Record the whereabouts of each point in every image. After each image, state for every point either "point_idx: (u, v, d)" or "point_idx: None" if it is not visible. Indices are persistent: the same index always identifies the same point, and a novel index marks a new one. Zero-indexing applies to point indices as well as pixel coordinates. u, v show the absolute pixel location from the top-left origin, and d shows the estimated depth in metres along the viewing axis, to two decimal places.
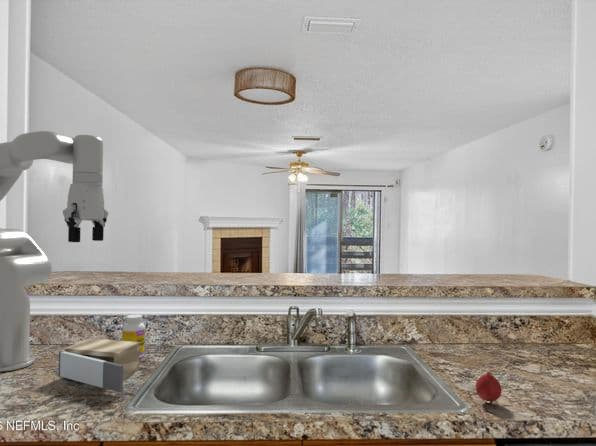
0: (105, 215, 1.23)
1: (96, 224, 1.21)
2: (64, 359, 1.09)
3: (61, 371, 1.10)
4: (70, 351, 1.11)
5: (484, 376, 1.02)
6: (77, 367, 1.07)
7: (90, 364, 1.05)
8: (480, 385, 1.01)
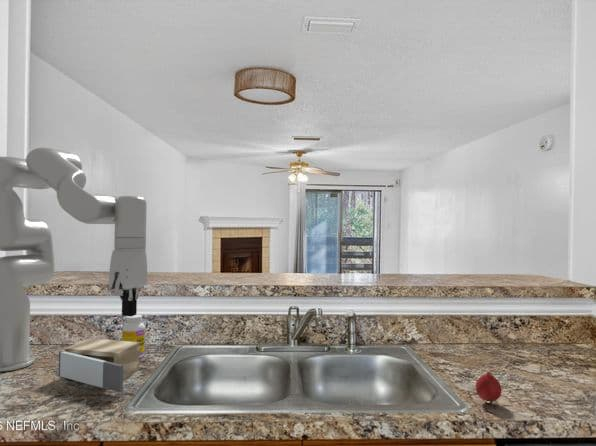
0: (140, 287, 1.10)
1: None
2: (64, 359, 1.09)
3: (61, 371, 1.10)
4: (70, 351, 1.11)
5: (484, 376, 1.02)
6: (77, 367, 1.07)
7: (90, 364, 1.05)
8: (480, 385, 1.01)
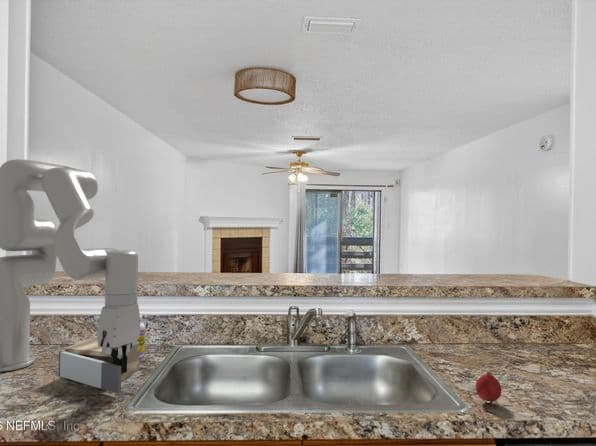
0: (133, 342, 1.08)
1: None
2: (64, 359, 1.09)
3: (61, 371, 1.10)
4: (70, 351, 1.11)
5: (484, 376, 1.02)
6: (77, 367, 1.07)
7: (89, 364, 1.05)
8: (480, 385, 1.01)
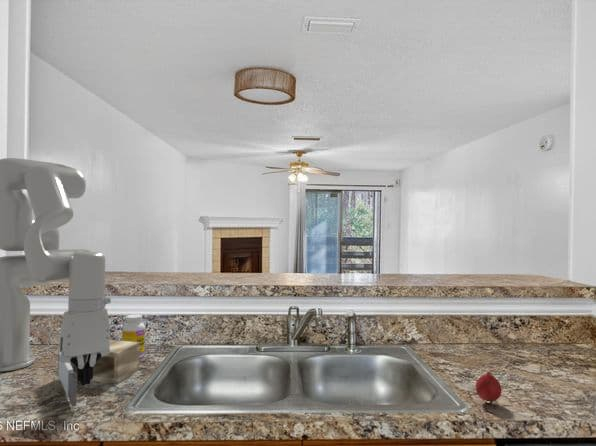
0: (103, 352, 0.99)
1: (88, 359, 0.98)
2: None
3: (58, 371, 1.10)
4: None
5: (484, 376, 1.02)
6: (62, 370, 1.05)
7: (65, 369, 1.01)
8: (480, 385, 1.01)
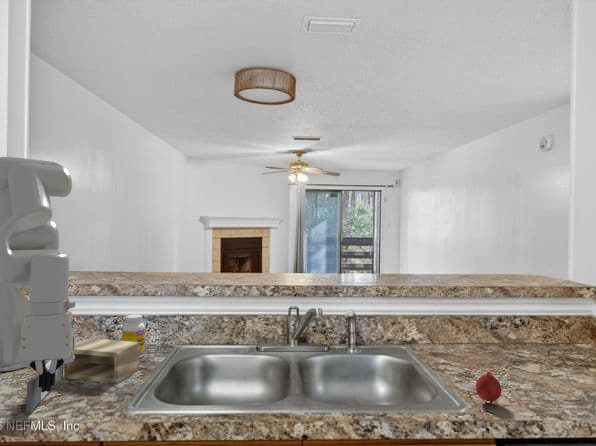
0: (66, 359, 0.94)
1: None
2: None
3: None
4: None
5: (484, 376, 1.02)
6: None
7: None
8: (480, 385, 1.01)
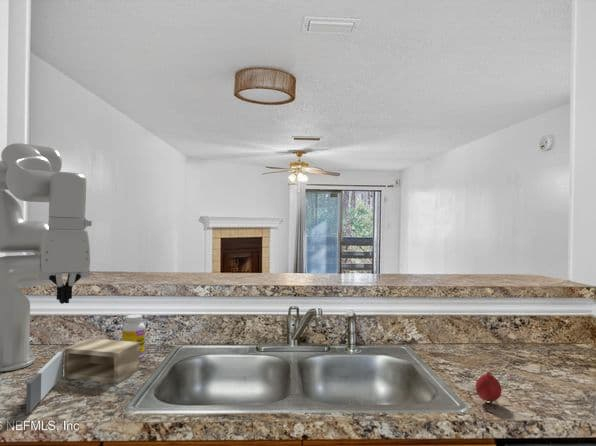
0: (83, 273, 1.00)
1: (68, 280, 0.99)
2: None
3: None
4: (70, 351, 1.11)
5: (484, 376, 1.02)
6: None
7: None
8: (480, 385, 1.01)
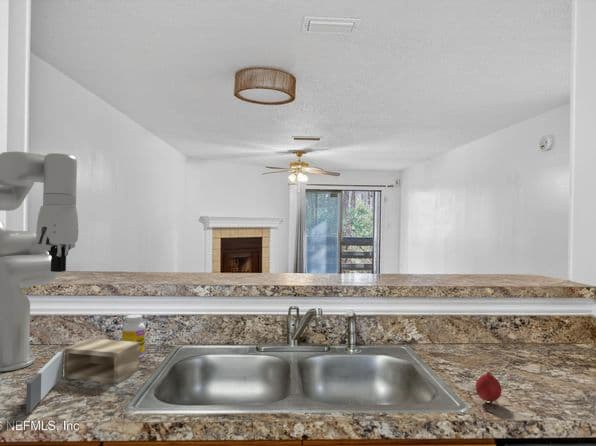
0: (71, 245, 1.12)
1: None
2: None
3: None
4: (70, 351, 1.11)
5: (484, 376, 1.02)
6: None
7: None
8: (480, 385, 1.01)
